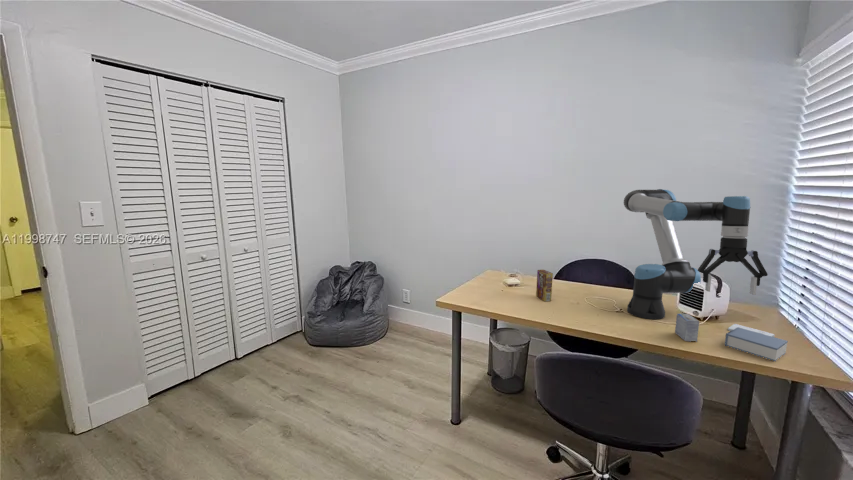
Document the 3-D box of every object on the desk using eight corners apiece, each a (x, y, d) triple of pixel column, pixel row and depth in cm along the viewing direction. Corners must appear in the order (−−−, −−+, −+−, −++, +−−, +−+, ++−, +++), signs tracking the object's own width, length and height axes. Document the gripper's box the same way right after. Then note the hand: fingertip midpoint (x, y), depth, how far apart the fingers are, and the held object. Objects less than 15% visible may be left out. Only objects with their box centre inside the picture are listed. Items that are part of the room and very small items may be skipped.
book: (724, 345, 130) (726, 333, 129) (736, 339, 136) (737, 327, 135) (774, 362, 118) (777, 348, 117) (785, 353, 124) (787, 341, 123)
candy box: (551, 301, 181) (553, 273, 178) (544, 301, 180) (545, 273, 177) (542, 295, 189) (544, 269, 187) (535, 296, 188) (536, 269, 186)
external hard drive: (734, 326, 148) (774, 337, 137) (727, 331, 144) (768, 342, 133) (735, 323, 148) (775, 333, 137) (727, 327, 143) (768, 338, 133)
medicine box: (697, 342, 133) (700, 321, 132) (684, 341, 134) (687, 320, 132) (686, 333, 141) (688, 313, 139) (674, 332, 141) (676, 313, 140)
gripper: (696, 237, 130) (692, 291, 132) (783, 239, 120) (778, 297, 122) (690, 235, 137) (687, 287, 139) (772, 237, 127) (767, 293, 129)
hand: (729, 292), depth 131 cm, fingers open, 13 cm apart
